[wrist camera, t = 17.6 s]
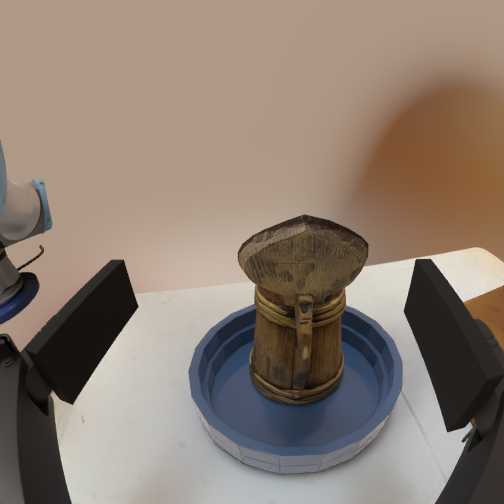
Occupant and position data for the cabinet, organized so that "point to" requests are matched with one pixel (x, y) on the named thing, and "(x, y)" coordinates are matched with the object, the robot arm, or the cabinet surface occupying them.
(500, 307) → the diary
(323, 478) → the cabinet surface
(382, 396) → the bowl
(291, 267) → the wooden mug
